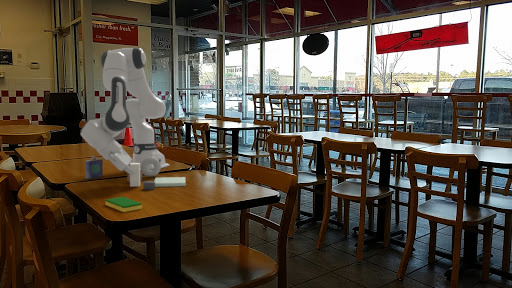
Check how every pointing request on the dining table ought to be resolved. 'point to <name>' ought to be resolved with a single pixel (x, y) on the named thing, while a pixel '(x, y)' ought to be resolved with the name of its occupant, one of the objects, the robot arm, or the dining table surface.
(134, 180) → the tall block
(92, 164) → the flask
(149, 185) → the rubber puck
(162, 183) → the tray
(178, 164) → the dining table surface
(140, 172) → the walnut cube
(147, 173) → the donut
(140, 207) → the dish sponge
